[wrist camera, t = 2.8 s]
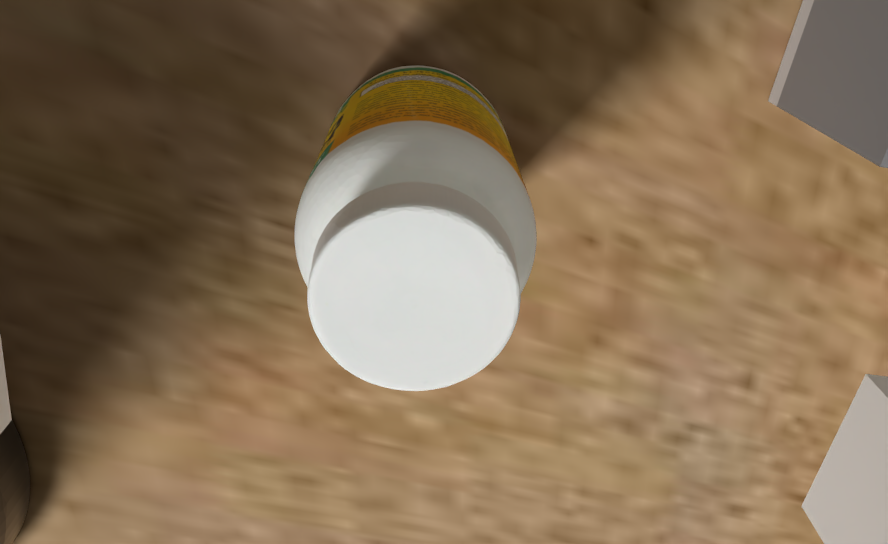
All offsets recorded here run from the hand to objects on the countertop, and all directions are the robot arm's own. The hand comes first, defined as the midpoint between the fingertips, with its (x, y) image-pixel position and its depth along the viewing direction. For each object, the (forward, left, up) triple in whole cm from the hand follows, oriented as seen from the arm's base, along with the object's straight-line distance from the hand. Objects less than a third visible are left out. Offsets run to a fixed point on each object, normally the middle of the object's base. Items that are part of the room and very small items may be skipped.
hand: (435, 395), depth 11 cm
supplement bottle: (0, 0, -12) cm, 12 cm away
